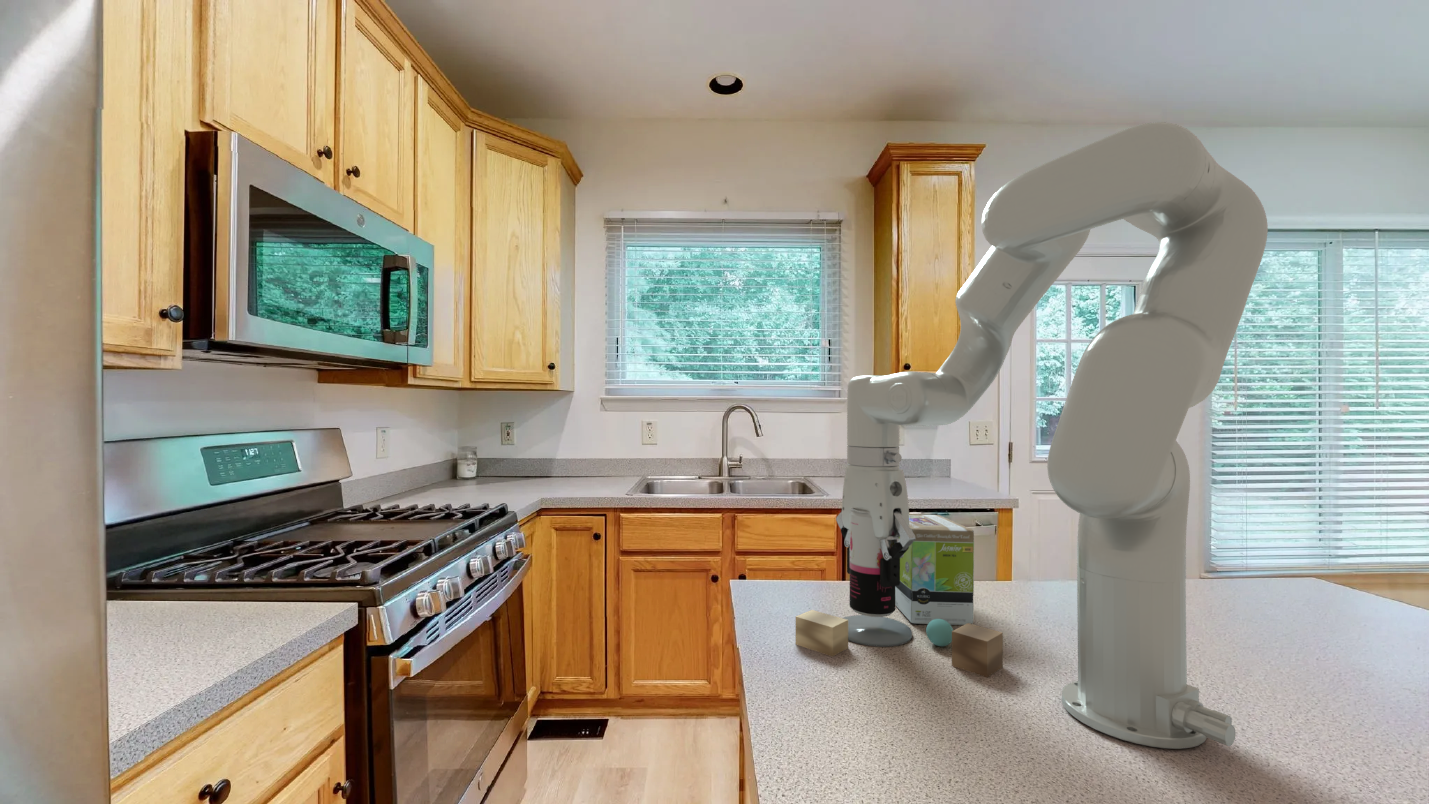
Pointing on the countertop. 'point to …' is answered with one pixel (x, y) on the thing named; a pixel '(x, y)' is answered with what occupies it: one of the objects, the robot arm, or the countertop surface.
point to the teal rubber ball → (939, 632)
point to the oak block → (822, 632)
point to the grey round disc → (877, 631)
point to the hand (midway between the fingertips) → (872, 578)
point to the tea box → (937, 572)
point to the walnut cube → (977, 649)
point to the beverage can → (867, 569)
